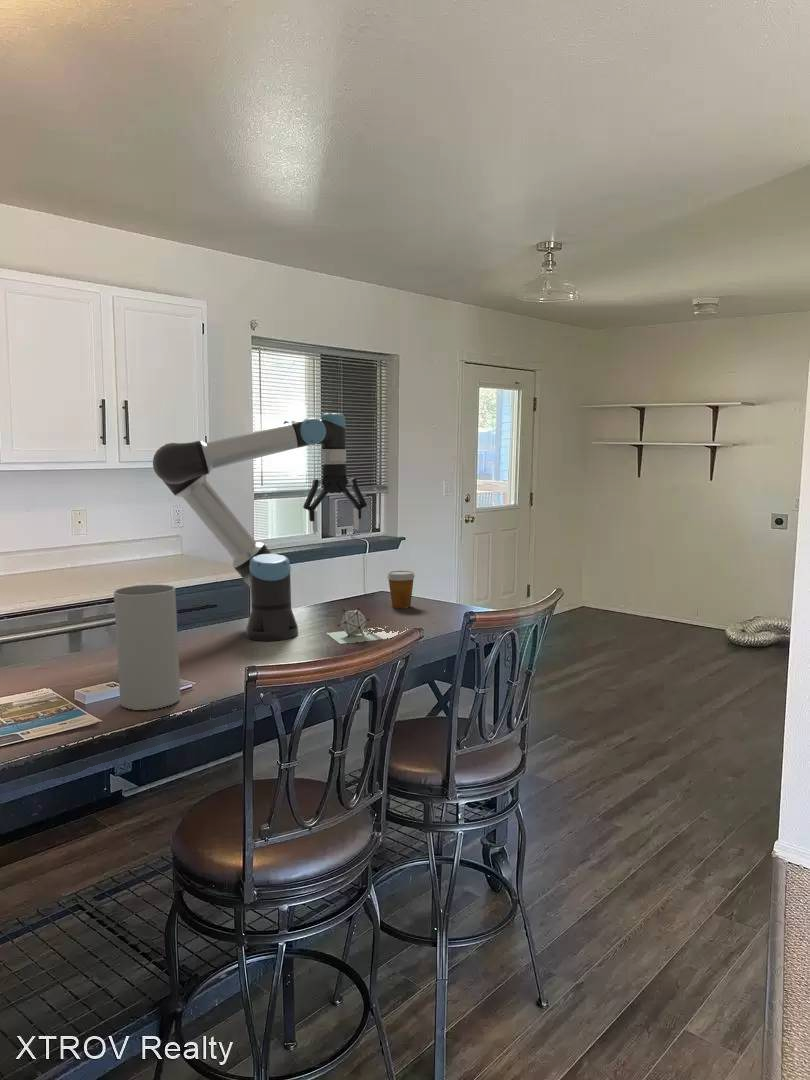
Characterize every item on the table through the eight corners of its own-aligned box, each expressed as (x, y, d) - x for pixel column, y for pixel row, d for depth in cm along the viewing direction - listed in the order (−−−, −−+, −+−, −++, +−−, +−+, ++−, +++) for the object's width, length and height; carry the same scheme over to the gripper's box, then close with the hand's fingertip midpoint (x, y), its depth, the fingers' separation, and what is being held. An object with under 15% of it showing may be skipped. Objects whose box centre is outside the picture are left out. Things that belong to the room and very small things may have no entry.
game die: (359, 649, 227) (367, 626, 221) (331, 639, 227) (339, 616, 221) (366, 628, 234) (375, 605, 228) (340, 618, 234) (347, 595, 228)
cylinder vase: (191, 701, 171) (186, 588, 168) (139, 716, 162) (132, 597, 159) (161, 690, 179) (155, 582, 176) (109, 703, 170) (102, 590, 167)
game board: (340, 644, 219) (340, 643, 219) (325, 633, 232) (325, 633, 232) (418, 635, 228) (418, 635, 228) (400, 625, 241) (400, 625, 241)
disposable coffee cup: (419, 605, 272) (419, 571, 270) (407, 610, 263) (406, 575, 262) (395, 603, 276) (395, 569, 275) (382, 608, 268) (382, 573, 266)
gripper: (367, 462, 253) (369, 527, 256) (292, 463, 244) (294, 531, 246) (375, 462, 246) (376, 529, 249) (298, 464, 237) (300, 533, 239)
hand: (335, 530), depth 247 cm, fingers open, 13 cm apart
